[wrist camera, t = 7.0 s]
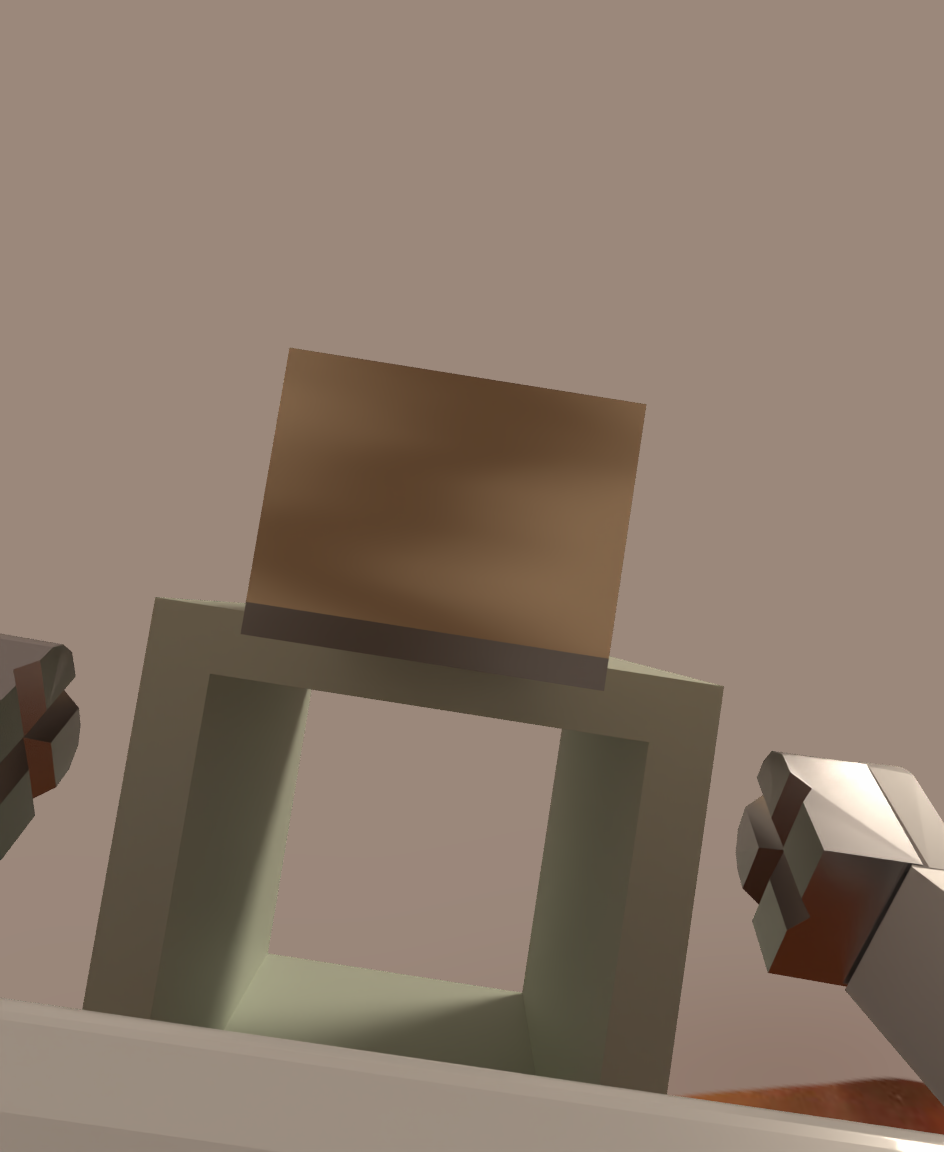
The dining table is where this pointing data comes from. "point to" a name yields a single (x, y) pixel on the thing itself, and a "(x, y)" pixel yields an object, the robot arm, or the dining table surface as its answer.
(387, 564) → the block
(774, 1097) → the dining table surface
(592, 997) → the shelf stand
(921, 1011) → the robot arm
